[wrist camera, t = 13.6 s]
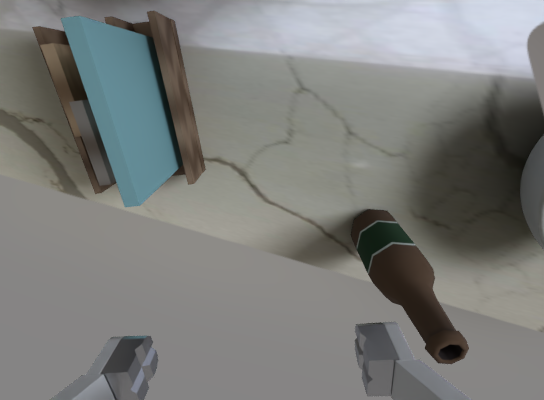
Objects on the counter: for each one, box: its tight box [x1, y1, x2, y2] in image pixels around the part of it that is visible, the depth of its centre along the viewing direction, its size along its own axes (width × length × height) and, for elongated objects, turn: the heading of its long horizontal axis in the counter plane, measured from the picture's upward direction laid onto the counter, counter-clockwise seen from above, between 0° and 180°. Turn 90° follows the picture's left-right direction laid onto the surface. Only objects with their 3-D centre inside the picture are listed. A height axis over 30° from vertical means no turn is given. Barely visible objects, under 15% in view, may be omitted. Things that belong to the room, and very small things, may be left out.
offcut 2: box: [69, 100, 116, 186], centre depth 38 cm, size 10×2×8 cm, turn 6°
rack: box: [32, 11, 206, 194], centre depth 39 cm, size 20×14×6 cm
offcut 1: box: [40, 43, 88, 137], centre depth 36 cm, size 10×2×6 cm, turn 6°
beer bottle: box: [351, 209, 469, 364], centre depth 38 cm, size 8×8×24 cm
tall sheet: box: [61, 16, 183, 207], centre depth 33 cm, size 16×2×16 cm, turn 6°
